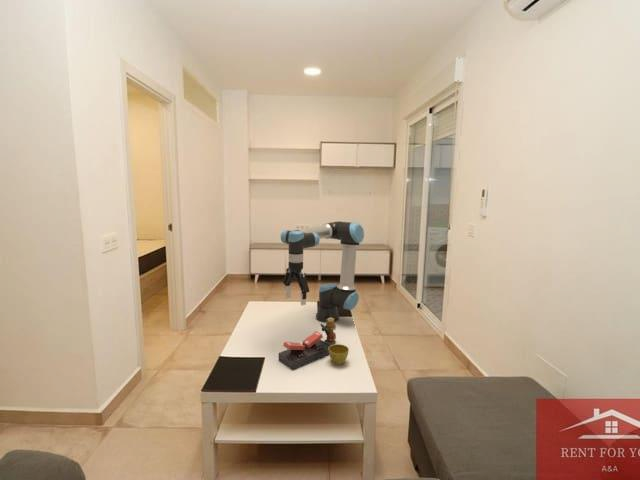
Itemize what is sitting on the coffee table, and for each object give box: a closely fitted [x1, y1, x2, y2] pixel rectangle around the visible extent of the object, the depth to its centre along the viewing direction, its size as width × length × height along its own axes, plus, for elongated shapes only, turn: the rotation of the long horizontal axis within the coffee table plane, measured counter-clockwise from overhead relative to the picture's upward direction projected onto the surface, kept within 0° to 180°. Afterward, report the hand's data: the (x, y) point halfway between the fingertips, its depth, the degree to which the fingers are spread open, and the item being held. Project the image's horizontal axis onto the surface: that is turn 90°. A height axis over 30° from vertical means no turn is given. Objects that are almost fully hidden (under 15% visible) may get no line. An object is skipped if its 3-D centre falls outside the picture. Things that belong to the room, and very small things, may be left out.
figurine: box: [319, 318, 338, 345], centre depth 190 cm, size 9×8×15 cm
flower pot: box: [328, 343, 350, 366], centre depth 170 cm, size 10×10×7 cm
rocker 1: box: [282, 341, 305, 350], centre depth 172 cm, size 10×5×2 cm, turn 132°
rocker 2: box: [301, 330, 324, 348], centre depth 179 cm, size 10×5×2 cm, turn 131°
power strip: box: [278, 339, 331, 371], centre depth 174 cm, size 26×12×6 cm, turn 131°
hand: (295, 301), depth 178 cm, fingers open, 13 cm apart
